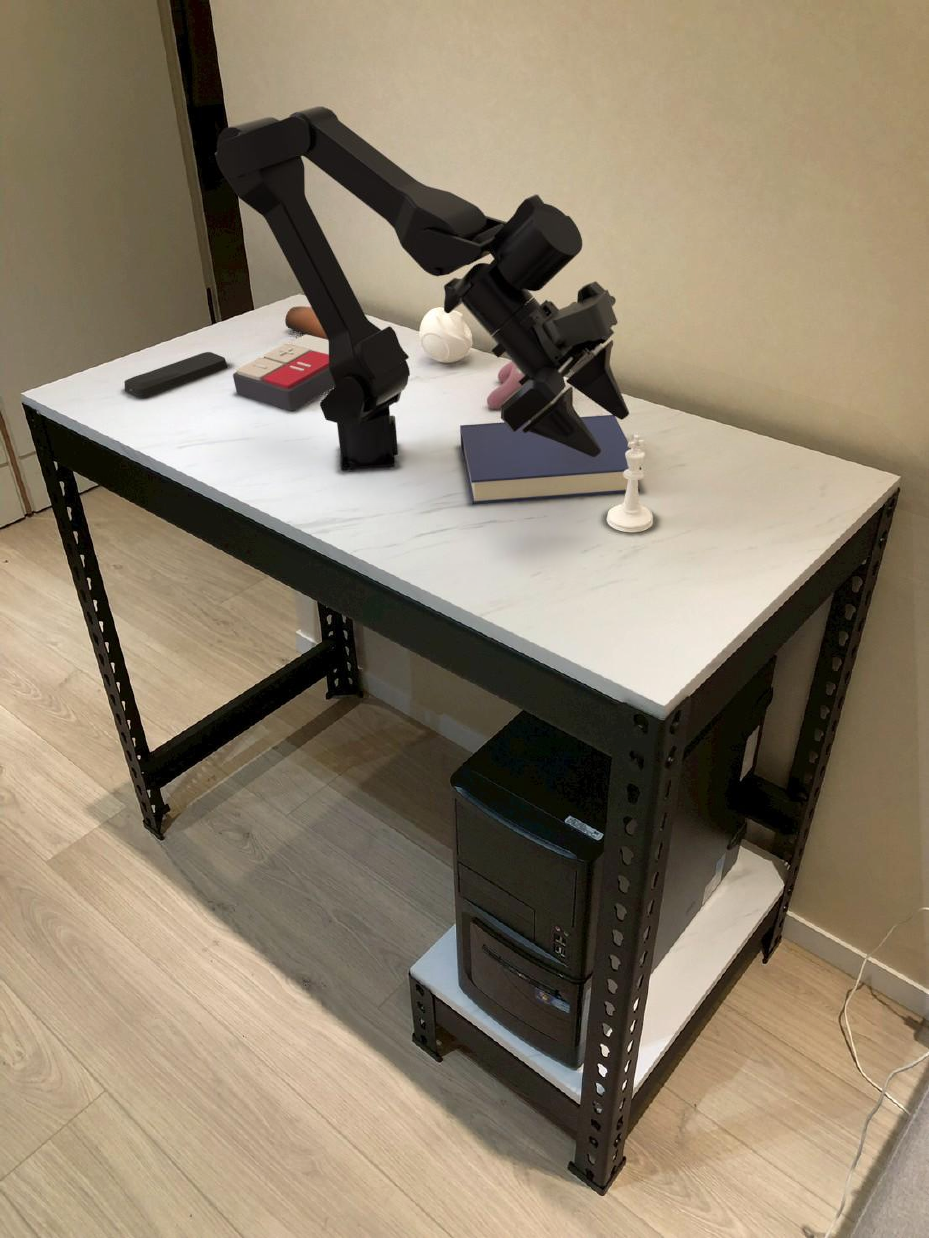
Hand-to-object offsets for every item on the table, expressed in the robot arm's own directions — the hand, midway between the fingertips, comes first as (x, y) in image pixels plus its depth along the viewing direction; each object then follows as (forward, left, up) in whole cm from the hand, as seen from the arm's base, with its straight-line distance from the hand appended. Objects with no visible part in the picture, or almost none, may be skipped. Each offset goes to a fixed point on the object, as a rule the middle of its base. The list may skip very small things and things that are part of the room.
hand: (612, 435), depth 101 cm
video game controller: (-6, +33, -10) cm, 35 cm away
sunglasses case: (-30, +58, -10) cm, 66 cm away
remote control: (-53, +47, -10) cm, 71 cm away
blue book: (-5, +12, -10) cm, 16 cm away
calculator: (-35, +42, -10) cm, 55 cm away
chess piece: (+2, -1, -10) cm, 10 cm away
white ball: (-14, +47, -10) cm, 50 cm away
